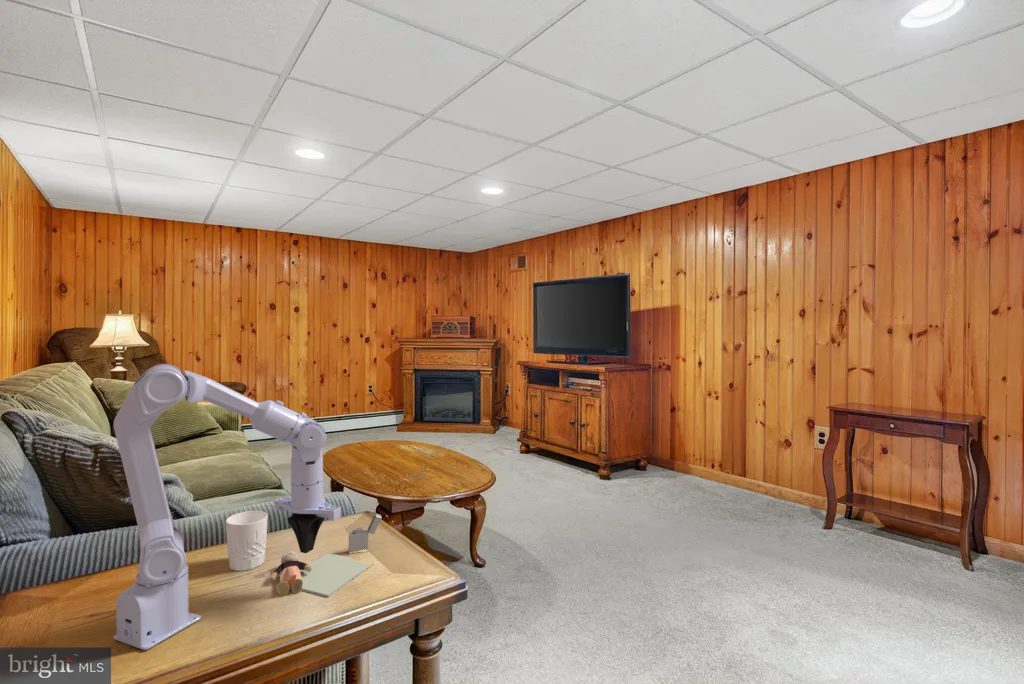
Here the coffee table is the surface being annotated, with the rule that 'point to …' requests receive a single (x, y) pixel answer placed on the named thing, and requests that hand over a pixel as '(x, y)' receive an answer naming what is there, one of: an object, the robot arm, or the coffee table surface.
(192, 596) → the coffee table surface
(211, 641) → the coffee table surface
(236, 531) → the white cup
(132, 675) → the coffee table surface
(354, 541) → the lighter
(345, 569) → the mat
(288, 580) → the grandmother figurine
